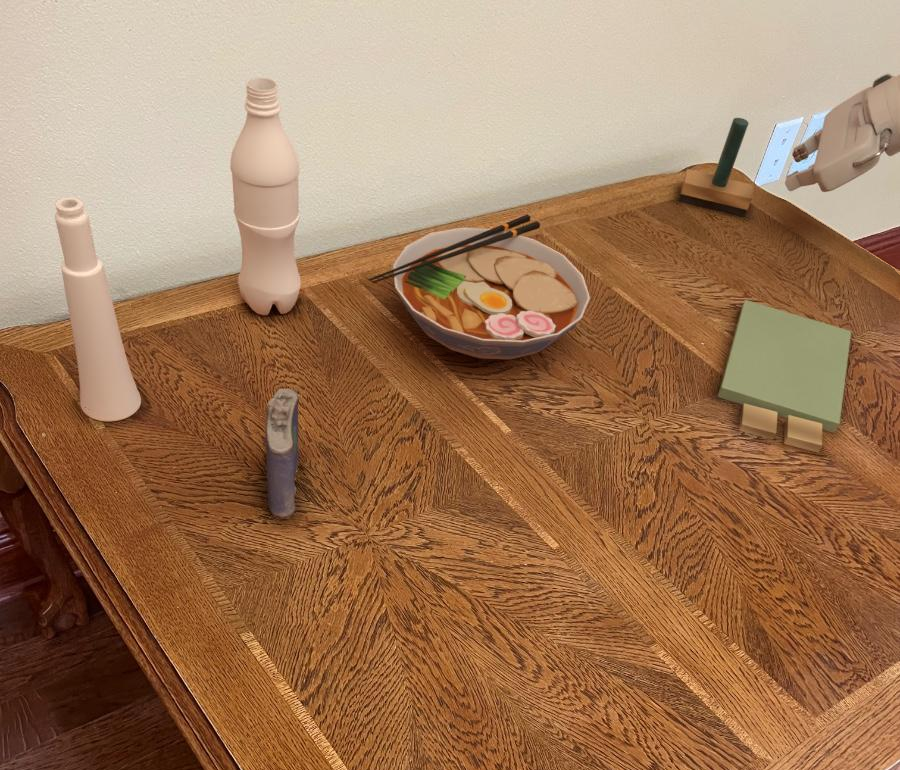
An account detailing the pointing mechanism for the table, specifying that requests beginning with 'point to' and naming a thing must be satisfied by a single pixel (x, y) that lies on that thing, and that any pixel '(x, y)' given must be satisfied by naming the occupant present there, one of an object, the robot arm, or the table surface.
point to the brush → (720, 179)
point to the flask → (282, 452)
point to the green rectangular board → (787, 365)
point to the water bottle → (266, 203)
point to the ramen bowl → (489, 290)
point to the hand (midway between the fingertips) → (790, 170)
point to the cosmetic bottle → (93, 321)
